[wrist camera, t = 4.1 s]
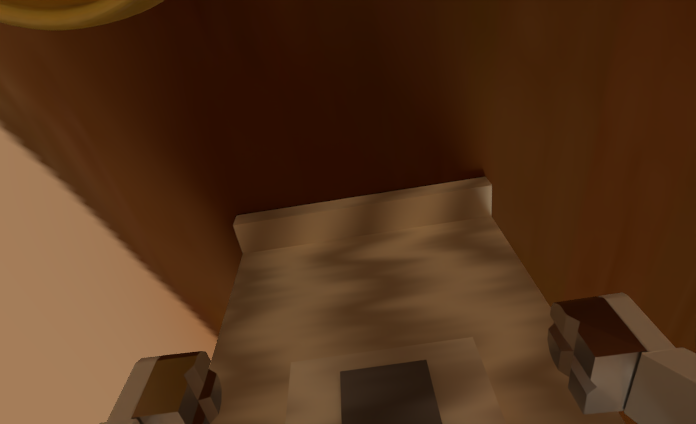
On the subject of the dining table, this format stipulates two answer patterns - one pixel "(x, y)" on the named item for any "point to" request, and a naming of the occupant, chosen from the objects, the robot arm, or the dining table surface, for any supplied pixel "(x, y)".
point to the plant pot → (69, 12)
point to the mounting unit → (388, 317)
